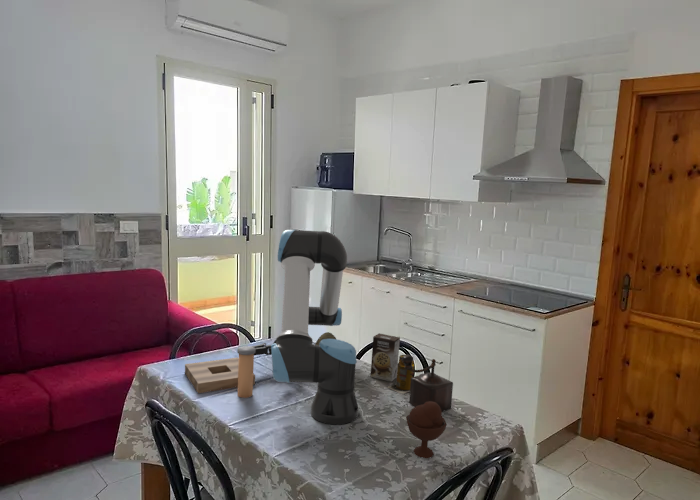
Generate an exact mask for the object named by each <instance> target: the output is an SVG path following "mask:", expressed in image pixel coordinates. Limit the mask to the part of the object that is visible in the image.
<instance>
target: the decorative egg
mask: <svg viewBox="0 0 700 500" xmlns="http://www.w3.org/2000/svg"><path fill="white" fill-rule="evenodd" d="M323 339H337V337H336V336H335V335H334V334H333V333H332V332H330V331H329V332H324V333H322V334H321V335H320V336H319V337H318V339H317V340H316V342H315V344H314V345H319V343H320V341H321V340H323Z"/></svg>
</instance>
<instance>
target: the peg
mask: <svg viewBox="0 0 700 500" xmlns="http://www.w3.org/2000/svg"><path fill="white" fill-rule="evenodd" d="M236 352H237V354H238V358H239V364H238V387H237V397H238V398H243V399H248V398H252V396H253V391H254V390H253V389H254V385H253V373H254V367H255V366H254V363H255V355H254V353H255V352H256V349H255V348H254V347H251V346H248V345H245V346H240V347H238V348H237V351H236Z"/></svg>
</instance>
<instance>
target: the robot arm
mask: <svg viewBox="0 0 700 500" xmlns="http://www.w3.org/2000/svg"><path fill="white" fill-rule="evenodd" d="M346 250H347V249H346V248H345V245H344V244H343V242H342V241H341V240H340V239H339V238H338V236H336V235H335V234H334V233H331V232H328V231H324V230H321V231H320V230H300V229H299V230H298V229H295V228H294V229H285V230H283V232H282V233H281V235H280V239H279V242H278V249H277V251H278V252H277V261H278V262H279V263H280V265H281V267H282V269H283V270H284V272H285V273H284V284H283V285H284V286H283V304H282V314H281V315H282V317H281V318H282V319H281V320H282V321H281V332H280V334H279V335H277V337H276V339H275V340H274V342H273V343H272V344H269V345H267V343H266V342H263V343H260V344H257V345H252V346H250V347H254V348H255V349H256V352H255V353H254V356H261V355H266V356H271V364H272V367H271V368H272V377H273V379H274V381H276V382H277V383H278V382H279V383H287V384H290V383H302V384H303V383H307V384H308V383H309V384H310V383H311V384H312V383H314V384H317V390H316V392H315V395H314V398H313V401H312V403H311V406H310V415H311V417H312V418H313V419H315V420H316V421H318V422H320V423H323V424H328V425H329V424H330V425H345V424H348V423H351V422H352V423H353V422H354V421H355V420H357V418H358V416H359V404H358V402H357V401H358V400H357V397H356V393H355V382H356V381H355V380H356V364H357V362H358V361H357V350H356V348H355V346H354V345H353V344H351V343H349V342H347V341H345V340H341V339H337V338H336V339H323V340H321V341H320V343H319V345H315V344H313V338H312V336H310V335H309V326H324V327H325V326H328V327H329V326H330V327H333V326H334V327H335V326H340V325H341V324H342V320H343V319H342V317H343V314H342V313H343V310H342V308H341V307H339V303H340V296H341V295H340V294H341V289H342V288H341V287H342V282H343V281H342V280H343V273H344V270H346V268H347V266H348V265H347V263H348V254H347V251H346ZM317 264H320V266H321V268H322V277H321V289H320V296H319V297H320V299H319V306H310V282H311V271H312V270H314V268H315V265H317Z"/></svg>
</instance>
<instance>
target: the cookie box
mask: <svg viewBox="0 0 700 500" xmlns="http://www.w3.org/2000/svg"><path fill="white" fill-rule="evenodd" d="M400 342H401V337H399V336H393V335H389V334H384V333H377V334H375V335H374V336H372V347H371V349H372V351H371V364H370V378H374V379H379V380H384V381H386V382H393V381H395V379H397V367H398V363H399V356H400V355H399V352H400V351H399V350H400Z"/></svg>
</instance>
